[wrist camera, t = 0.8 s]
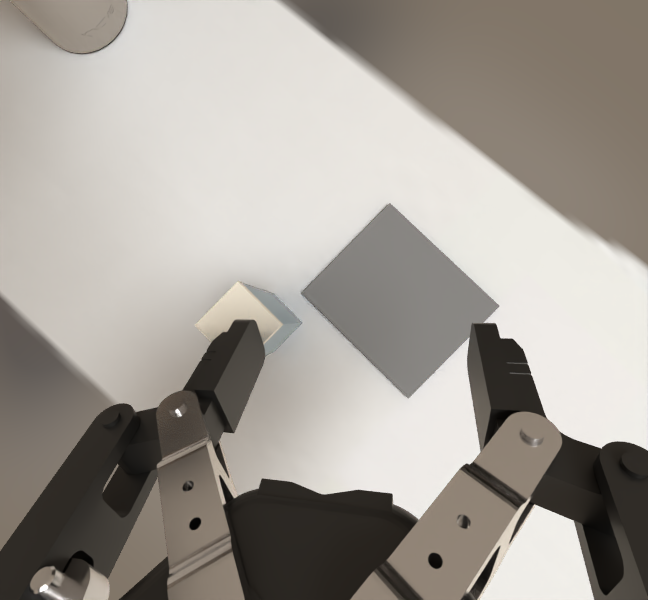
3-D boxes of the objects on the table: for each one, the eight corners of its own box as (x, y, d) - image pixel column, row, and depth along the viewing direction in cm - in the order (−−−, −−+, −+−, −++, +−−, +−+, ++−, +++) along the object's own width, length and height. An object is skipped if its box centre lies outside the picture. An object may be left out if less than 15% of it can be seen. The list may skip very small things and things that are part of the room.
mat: (302, 293, 36) (301, 292, 35) (389, 204, 36) (389, 203, 35) (407, 397, 35) (408, 398, 34) (496, 306, 35) (499, 306, 34)
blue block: (244, 322, 36) (194, 325, 24) (273, 293, 36) (237, 281, 24) (273, 352, 36) (237, 369, 24) (302, 322, 36) (281, 324, 24)
